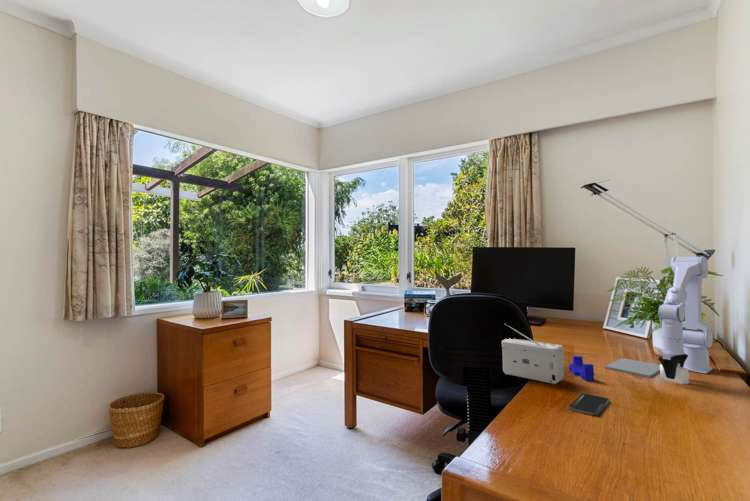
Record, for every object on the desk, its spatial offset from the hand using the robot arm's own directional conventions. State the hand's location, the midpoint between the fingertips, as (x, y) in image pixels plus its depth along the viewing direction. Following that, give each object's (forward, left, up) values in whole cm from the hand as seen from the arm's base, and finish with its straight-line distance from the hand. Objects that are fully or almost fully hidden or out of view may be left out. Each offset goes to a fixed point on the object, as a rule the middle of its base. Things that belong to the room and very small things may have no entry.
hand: (674, 376), depth 128 cm
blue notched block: (+18, -23, -2) cm, 30 cm away
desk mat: (-6, -14, -2) cm, 15 cm away
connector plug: (0, 0, -2) cm, 2 cm away
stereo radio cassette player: (+34, -34, -2) cm, 48 cm away
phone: (+44, -9, -2) cm, 45 cm away
